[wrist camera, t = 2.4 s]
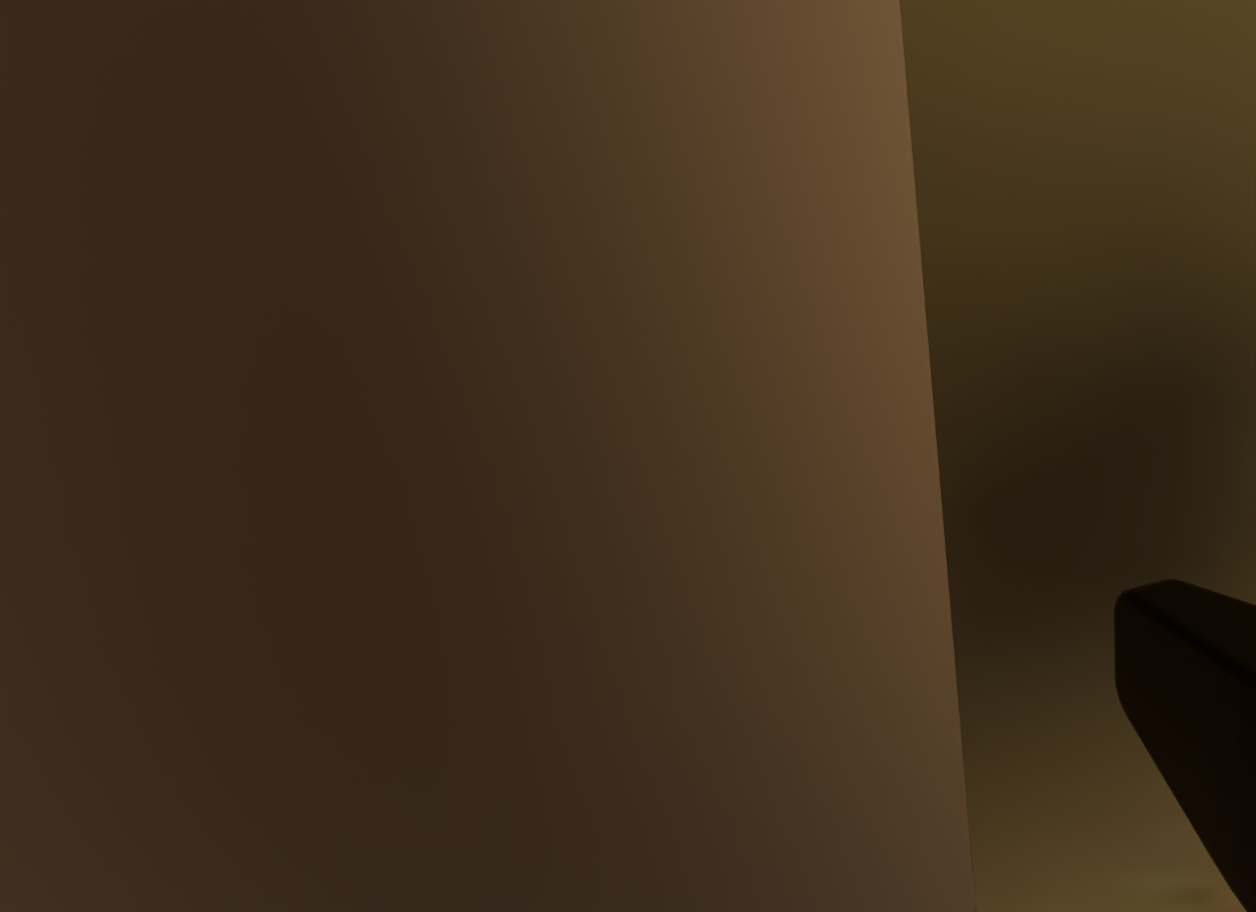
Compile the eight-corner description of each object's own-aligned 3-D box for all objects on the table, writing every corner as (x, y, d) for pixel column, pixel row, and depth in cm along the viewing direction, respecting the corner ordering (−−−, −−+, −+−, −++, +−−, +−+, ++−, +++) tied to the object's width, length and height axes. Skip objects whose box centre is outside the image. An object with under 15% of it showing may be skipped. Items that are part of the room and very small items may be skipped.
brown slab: (472, 1054, 13) (486, 1817, 8) (53, -49, 8) (-724, -16, 3) (804, 967, 14) (1038, 1657, 8) (599, -168, 8) (869, -347, 3)
